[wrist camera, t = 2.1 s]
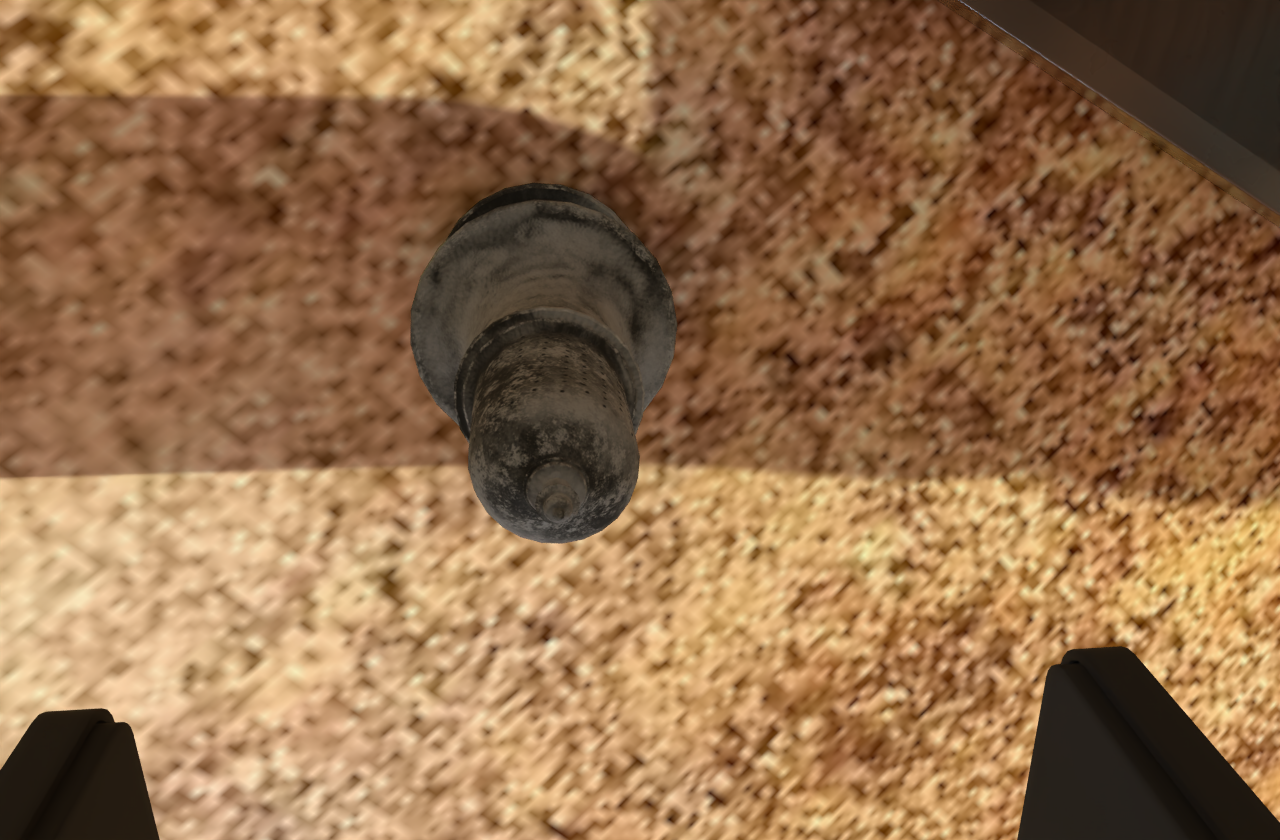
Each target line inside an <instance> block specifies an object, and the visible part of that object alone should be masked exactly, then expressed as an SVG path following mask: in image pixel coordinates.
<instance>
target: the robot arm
mask: <svg viewBox="0 0 1280 840" xmlns="http://www.w3.org/2000/svg"><path fill="white" fill-rule="evenodd" d="M0 840H159V836H158V832H157V828H156V824H155V820H154V816H153V812H152V808H151V803H150V799H149V795H148V791H147V787H146V783H145V779H144V775H143V771H142V767H141V763H140V759H139V755H138V751H137V747H136V743H135V739H134V735H133V732H132V729H131V727H130V726H129V725H128V723H125V722H118V723H115V722H114V719H113V716H112V715H111V714H110V712H109V711H108V710H106V709H102V708H100V709H83V710H67V711H50V712H44V713H42V714H39V715H38V716H37V717H36V719H35V720H34V721H33V722H32V723H31V725H30V726H29V728H28V729H27V731H26V732H25V734H24V735H23V737H22V738H21V740H20V741H19V743H18V745H17V746H16V748H15V749H14V751H13V752H12V754H11V755H10V757H9V758H8V760H7V761H6V763H5V764H4V766H3V767H2V769H1V770H0ZM1017 840H1280V822H1279V821H1278V820H1277V819H1276V818H1275V817H1274V815H1273V814H1272V813H1271V812H1270V811H1269V810H1268V808H1267V807H1266V806H1265V805H1264V804H1263V803H1262V801H1261V800H1260V799H1259V798H1258V797H1257V796H1256V795H1255V793H1254V792H1253V791H1252V790H1251V789H1250V788H1249V786H1248V785H1247V784H1246V783H1245V782H1244V781H1243V779H1242V778H1241V777H1240V776H1239V775H1238V774H1237V772H1236V771H1235V770H1234V769H1233V768H1232V767H1231V765H1230V764H1229V763H1228V762H1227V761H1226V760H1225V759H1224V757H1223V756H1222V755H1221V754H1220V753H1219V752H1218V750H1217V749H1216V748H1215V747H1214V746H1213V745H1212V743H1211V742H1210V741H1209V740H1208V739H1207V738H1206V736H1205V735H1204V734H1203V733H1202V732H1201V731H1200V729H1199V728H1198V727H1197V726H1196V725H1195V724H1194V723H1193V721H1192V720H1191V719H1190V718H1189V717H1188V716H1187V714H1186V713H1185V712H1184V711H1183V710H1182V709H1181V707H1180V706H1179V705H1178V704H1177V703H1176V702H1175V700H1174V699H1173V698H1172V697H1171V696H1170V695H1169V693H1168V692H1167V691H1166V690H1165V689H1164V688H1163V687H1162V685H1161V684H1160V683H1159V682H1158V681H1157V680H1156V678H1155V677H1154V676H1153V675H1152V674H1151V673H1150V671H1149V670H1148V669H1147V668H1146V667H1145V666H1144V664H1143V663H1142V662H1141V661H1140V660H1139V659H1138V657H1137V656H1136V655H1135V654H1134V653H1133V652H1132V651H1130V650H1129V649H1128V648H1125V647H1121V646H1120V647H1104V648H1088V649H1072V650H1070V651H1067V653H1066V654H1065V655H1064V657H1063V659H1062V662H1061V664H1056V665H1053V666H1051V667H1050V669H1049V670H1048V673H1047V676H1046V682H1045V687H1044V693H1043V699H1042V704H1041V710H1040V715H1039V721H1038V727H1037V732H1036V738H1035V744H1034V749H1033V755H1032V760H1031V766H1030V772H1029V777H1028V783H1027V789H1026V794H1025V800H1024V806H1023V811H1022V817H1021V822H1020V828H1019V834H1018V839H1017Z"/></svg>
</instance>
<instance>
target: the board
mask: <svg viewBox="0 0 1280 840" xmlns="http://www.w3.org/2000/svg"><path fill="white" fill-rule="evenodd" d="M938 1H940V2H941V3H943V4H944V5H946V6H947V7H949V8H950V9H952V10H953V11H955V12H956V13H958V14H959V15H961V16H962V17H964V18H965V19H967V20H968V21H970V22H971V23H973V24H974V25H976V26H977V27H979V28H980V29H982V30H983V31H985V32H986V33H988V34H989V35H991V36H992V37H994V38H995V39H997V40H998V41H1000V42H1001V43H1003V44H1004V45H1006V46H1007V47H1009V48H1010V49H1012V50H1013V51H1015V52H1016V53H1018V54H1019V55H1021V56H1022V57H1024V58H1025V59H1027V60H1028V61H1030V62H1031V63H1033V64H1034V65H1036V66H1037V67H1039V68H1040V69H1042V70H1043V71H1045V72H1046V73H1048V74H1049V75H1051V76H1053V77H1054V78H1056V79H1057V80H1059V81H1060V82H1062V83H1063V84H1065V85H1066V86H1068V87H1069V88H1071V89H1072V90H1074V91H1075V92H1077V93H1078V94H1080V95H1081V96H1083V97H1084V98H1086V99H1087V100H1089V101H1090V102H1092V103H1093V104H1095V105H1096V106H1098V107H1099V108H1101V109H1102V110H1104V111H1105V112H1107V113H1108V114H1110V115H1111V116H1113V117H1114V118H1116V119H1117V120H1119V121H1120V122H1122V123H1123V124H1125V125H1126V126H1128V127H1129V128H1131V129H1132V130H1134V131H1135V132H1137V133H1138V134H1140V135H1141V136H1143V137H1144V138H1146V139H1147V140H1149V141H1150V142H1152V143H1153V144H1155V145H1156V146H1158V147H1159V148H1161V149H1162V150H1164V151H1165V152H1167V153H1168V154H1170V155H1171V156H1173V157H1174V158H1176V159H1177V160H1179V161H1180V162H1182V163H1183V164H1185V165H1186V166H1188V167H1189V168H1191V169H1192V170H1194V171H1195V172H1197V173H1198V174H1200V175H1201V176H1203V177H1204V178H1206V179H1207V180H1209V181H1210V182H1212V183H1213V184H1215V185H1216V186H1218V187H1219V188H1221V189H1222V190H1224V191H1226V192H1227V193H1229V194H1230V195H1232V196H1233V197H1235V198H1236V199H1238V200H1239V201H1241V202H1242V203H1244V204H1245V205H1247V206H1248V207H1250V208H1251V209H1253V210H1254V211H1256V212H1257V213H1259V214H1260V215H1262V216H1263V217H1265V218H1266V219H1268V220H1269V221H1271V222H1272V223H1274V224H1275V225H1277V226H1278V227H1280V0H938Z"/></svg>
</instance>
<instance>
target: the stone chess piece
mask: <svg viewBox="0 0 1280 840" xmlns="http://www.w3.org/2000/svg"><path fill="white" fill-rule="evenodd" d="M676 331H677V320H676V314H675V308H674V302H673V296H672V291H671V289H670V287H669V285H668V283H667V280H666V278H665V276H664V274H663V272H662V270H661V268H660V266H659V263H658V261H657V259H656V258H655V257H654V256H653V255H652V254H651V253H650V251H649V250H648V249H647V248H646V247H645V246H644V244H643V243H642V242H641V241H640V240H639V239H638V238H637V236H636V235H635V234H634V233H632V232H631V231H630V230H629V229H628V228H627V226H626V225H625V224H624V223H623V222H622V221H621V220H620V218H619V217H618V216H617V215H616V214H615V213H614V211H613V210H612V209H610V208H609V207H607V206H606V205H604V204H603V203H601V202H600V201H598V200H597V199H595V198H594V197H592V196H591V195H589V194H587V193H584V192H581V191H578V190H575V189H572V188H569V187H567V186H564V185H556V184H541V183H530V184H525V185H520V186H515V187H510V188H505V189H503V190H501V191H499V192H497V193H495V194H493V195H491V196H489V197H487V198H485V199H483V200H481V201H479V202H478V203H477V204H476V205H475V206H474V207H473V208H471V209H470V210H469V211H468V212H467V213H466V214H465V215H464V216H463V217H461V218H460V219H459V220H458V222H457V223H456V225H455V227H454V228H453V230H452V231H451V233H450V235H449V236H448V238H447V239H446V241H445V242H444V243H443V244H442V245H441V246H440V247H439V248H438V250H437V251H436V253H435V255H434V256H433V258H432V259H431V261H430V262H429V264H428V266H427V267H426V269H425V270H424V272H423V273H422V275H421V277H420V280H419V284H418V287H417V291H416V294H415V298H414V301H413V304H412V308H411V347H412V350H413V354H414V358H415V361H416V365H417V368H418V372H419V375H420V377H421V379H422V381H423V382H424V384H425V386H426V387H427V389H428V391H429V392H430V394H431V395H432V397H433V399H434V400H435V402H436V404H437V405H438V406H439V407H440V408H441V409H442V410H443V411H444V412H445V413H446V414H447V415H448V416H449V417H451V418H452V419H453V420H454V421H455V422H456V423H457V424H458V425H459V426H460V430H461V431H462V433H463V434H464V436H465V438H466V439H467V441H468V443H469V453H468V470H469V473H470V477H471V480H472V484H473V487H474V490H475V492H476V495H477V497H478V498H479V500H480V501H481V503H482V505H483V506H484V508H485V510H486V511H487V513H488V514H489V515H490V516H491V517H492V518H493V519H495V520H496V521H497V522H498V523H499V524H500V525H501V526H502V527H503V528H505V529H507V530H509V531H511V532H512V533H514V534H516V535H518V536H520V537H522V538H526V539H530V540H533V541H537V542H541V543H567V542H572V541H577V540H582V539H585V538H587V537H589V536H591V535H594V534H596V533H598V532H600V531H602V530H603V529H604V528H606V527H607V526H608V525H609V524H611V523H612V522H613V521H614V520H616V519H617V518H618V517H619V515H620V514H621V513H622V511H623V510H624V509H625V507H626V506H627V504H628V503H629V501H630V499H631V496H632V493H633V491H634V488H635V486H636V482H637V479H638V471H639V459H640V455H639V451H638V446H637V441H636V436H635V435H636V432H637V430H638V427H639V424H640V422H641V419H642V416H643V412H644V410H645V409H646V408H647V406H648V405H649V404H650V402H651V401H652V399H653V398H654V397H655V395H656V394H657V393H658V391H659V390H660V389H661V387H662V385H663V383H664V380H665V378H666V375H667V372H668V370H669V367H670V365H671V362H672V360H673V357H674V350H675V340H676Z"/></svg>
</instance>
